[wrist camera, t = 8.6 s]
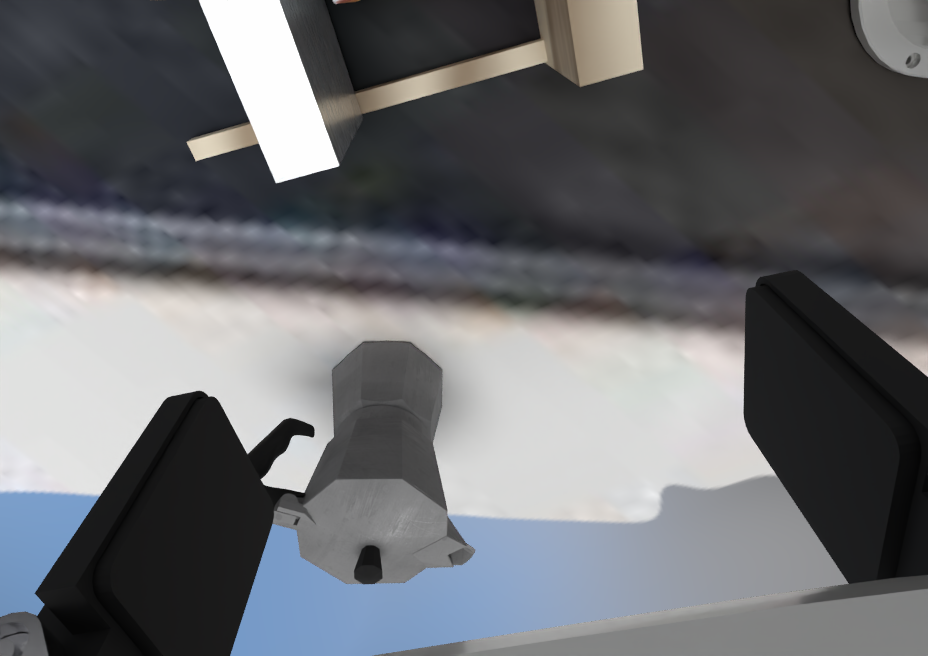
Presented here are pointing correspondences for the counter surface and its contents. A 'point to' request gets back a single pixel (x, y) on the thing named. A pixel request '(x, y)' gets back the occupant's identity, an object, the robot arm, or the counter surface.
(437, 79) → the frame
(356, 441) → the coffeepot
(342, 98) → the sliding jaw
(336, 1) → the small box
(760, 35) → the counter surface
